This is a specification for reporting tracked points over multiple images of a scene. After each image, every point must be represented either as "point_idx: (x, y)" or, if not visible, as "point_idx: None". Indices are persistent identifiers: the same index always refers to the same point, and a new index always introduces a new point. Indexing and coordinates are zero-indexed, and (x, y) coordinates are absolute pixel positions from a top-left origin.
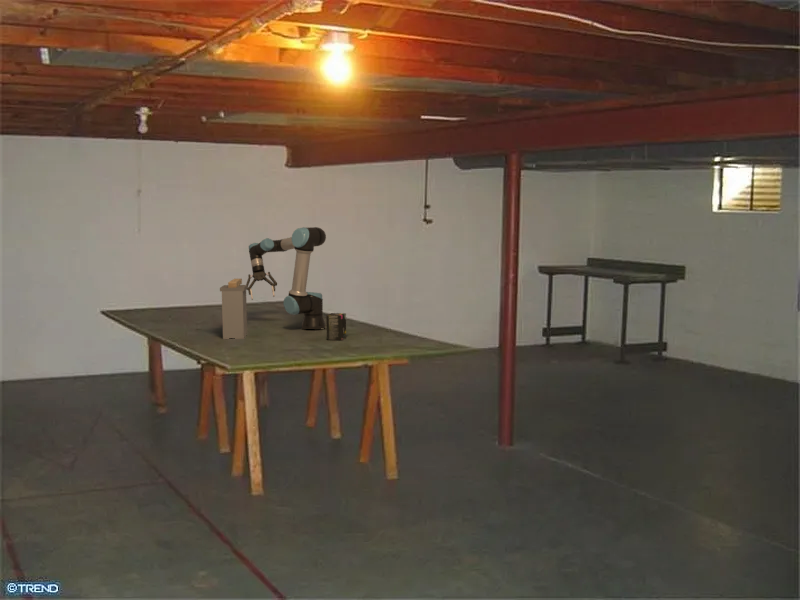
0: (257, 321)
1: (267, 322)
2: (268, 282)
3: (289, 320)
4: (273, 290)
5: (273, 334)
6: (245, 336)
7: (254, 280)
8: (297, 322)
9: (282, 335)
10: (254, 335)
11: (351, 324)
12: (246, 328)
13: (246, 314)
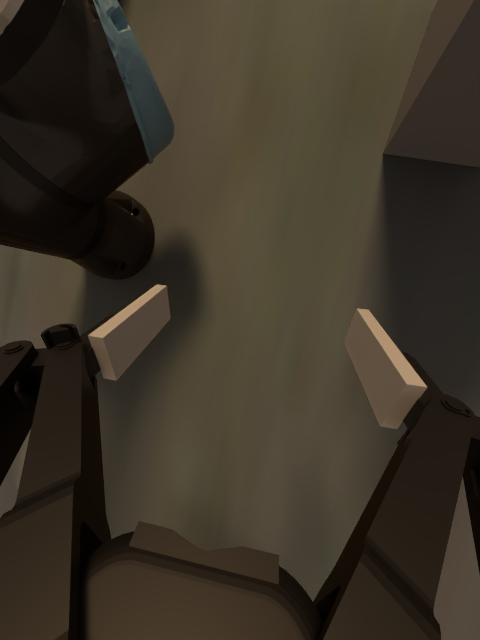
0: (252, 528)
1: (223, 478)
2: (91, 424)
3: (143, 485)
4: (132, 304)
5: (276, 130)
6: (409, 78)
7: (386, 561)
8: (131, 420)
9: (250, 92)
10: (357, 118)
11: (10, 296)
12: (407, 100)
13: (451, 30)
